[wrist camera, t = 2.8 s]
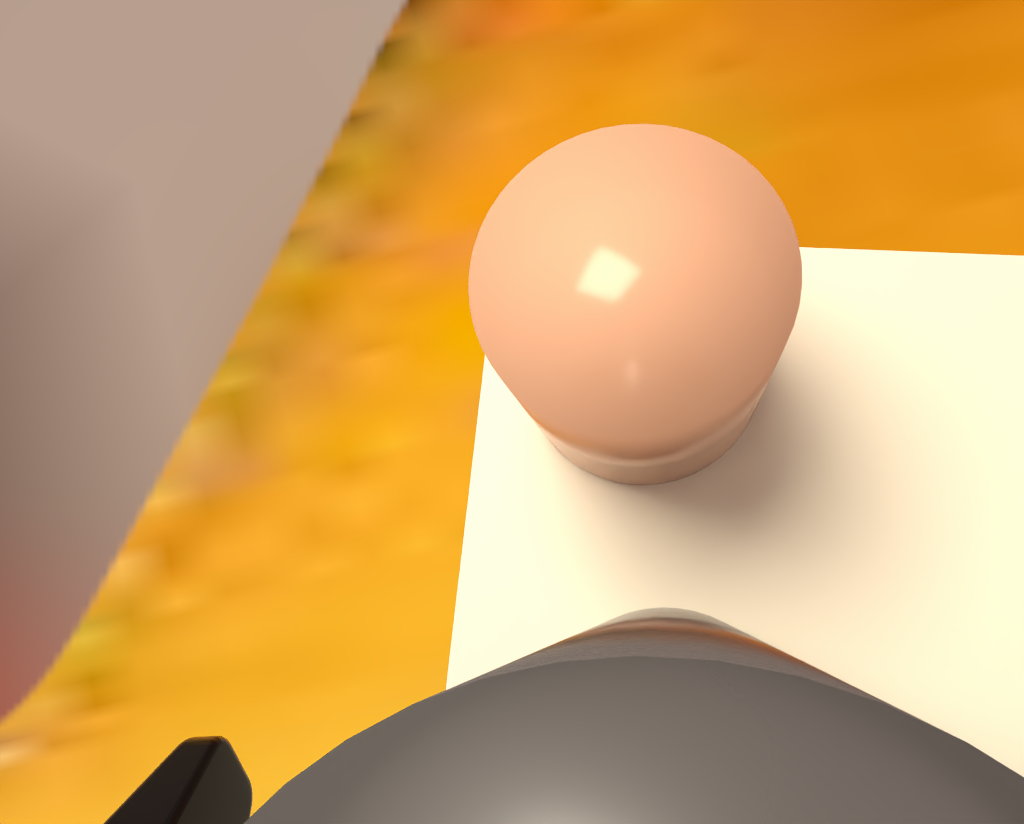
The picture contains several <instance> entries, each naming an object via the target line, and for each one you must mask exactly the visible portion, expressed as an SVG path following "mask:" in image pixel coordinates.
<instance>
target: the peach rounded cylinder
mask: <svg viewBox="0 0 1024 824" xmlns="http://www.w3.org/2000/svg"><path fill="white" fill-rule="evenodd" d="M468 289H469V302H470V311H471V315H472V320H473V324H474V329H475V331H476V334H477V337H478V339H479V342H480V345H481V347H482V349H483V351H484V353H485V355H486V357H487V359H488V361H489V362H490V364H491V366H492V367H493V369H494V370H495V371H496V373H497V374H498V376H499V377H500V378H501V380H502V381H503V382H504V384H505V385H506V386H507V388H508V389H509V390H510V391H511V393H512V394H513V395H514V397H515V398H516V399H517V400H518V402H519V403H520V404H521V406H522V407H523V408H524V409H525V411H526V412H527V413H528V415H529V416H530V417H531V418H532V420H533V421H534V422H535V424H536V425H537V426H538V427H539V429H540V430H541V431H542V433H543V434H544V435H545V436H546V438H547V439H548V440H549V442H550V443H551V444H552V445H553V446H554V447H555V448H556V449H557V450H558V451H559V452H560V453H561V454H562V455H563V456H564V457H565V458H567V459H568V460H569V461H570V462H572V463H573V464H574V465H576V466H578V467H579V468H581V469H583V470H584V471H586V472H588V473H590V474H593V475H595V476H597V477H600V478H603V479H606V480H609V481H613V482H617V483H623V484H630V485H653V484H663V483H667V482H671V481H676V480H679V479H682V478H685V477H687V476H690V475H692V474H695V473H697V472H698V471H700V470H702V469H704V468H706V467H708V466H709V465H711V464H712V463H713V462H715V461H716V460H717V459H719V458H720V457H721V456H723V455H724V454H725V453H726V452H727V451H728V450H729V449H730V448H731V447H732V446H733V445H734V444H735V442H736V441H737V440H738V439H739V437H740V436H741V435H742V434H743V432H744V430H745V429H746V427H747V425H748V424H749V422H750V420H751V418H752V416H753V414H754V412H755V410H756V407H757V405H758V403H759V401H760V399H761V397H762V395H763V393H764V390H765V388H766V386H767V384H768V382H769V380H770V378H771V375H772V373H773V371H774V369H775V367H776V365H777V363H778V361H779V358H780V356H781V354H782V352H783V350H784V348H785V346H786V343H787V341H788V339H789V336H790V334H791V332H792V329H793V327H794V324H795V320H796V316H797V313H798V309H799V305H800V298H801V290H802V261H801V254H800V248H799V242H798V239H797V236H796V233H795V229H794V226H793V223H792V220H791V218H790V216H789V214H788V212H787V210H786V208H785V206H784V204H783V202H782V201H781V199H780V198H779V196H778V195H777V193H776V192H775V190H774V189H773V187H772V186H771V185H770V183H769V182H768V181H767V180H766V179H765V178H764V177H763V176H762V174H761V173H760V172H759V171H758V170H757V169H756V168H755V167H753V166H752V165H751V164H750V163H749V162H748V161H746V160H745V159H744V158H743V157H742V156H740V155H739V154H737V153H736V152H734V151H733V150H731V149H729V148H728V147H726V146H725V145H723V144H721V143H719V142H717V141H715V140H712V139H710V138H708V137H706V136H704V135H701V134H698V133H694V132H691V131H688V130H685V129H680V128H675V127H670V126H665V125H653V124H629V125H618V126H612V127H606V128H601V129H597V130H594V131H591V132H587V133H584V134H581V135H578V136H576V137H574V138H571V139H569V140H566V141H564V142H562V143H560V144H558V145H557V146H555V147H553V148H551V149H549V150H548V151H546V152H544V153H543V154H541V155H540V156H539V157H537V158H536V159H535V160H533V161H532V162H531V163H529V164H528V165H527V166H526V167H525V168H524V169H522V170H521V171H520V172H519V173H518V174H517V175H516V176H515V177H514V178H513V179H512V180H511V181H510V182H509V184H508V185H507V186H506V187H505V188H504V190H503V191H502V192H501V193H500V194H499V196H498V197H497V199H496V201H495V202H494V204H493V205H492V207H491V208H490V210H489V211H488V213H487V216H486V218H485V220H484V222H483V224H482V226H481V228H480V230H479V233H478V236H477V239H476V242H475V245H474V248H473V253H472V259H471V264H470V270H469V288H468Z"/></svg>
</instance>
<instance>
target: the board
mask: <svg viewBox="0 0 1024 824" xmlns="http://www.w3.org/2000/svg"><path fill="white" fill-rule="evenodd" d="M799 248H800V254H801V261H802V290H801V298H800V305H799V309H798V313H797V316H796V320H795V324H794V327H793V329H792V332H791V334H790V336H789V339H788V341H787V343H786V346H785V348H784V350H783V352H782V354H781V356H780V358H779V361H778V363H777V365H776V367H775V369H774V371H773V373H772V375H771V378H770V380H769V382H768V384H767V386H766V388H765V390H764V393H763V395H762V397H761V399H760V401H759V403H758V405H757V407H756V410H755V412H754V414H753V416H752V418H751V420H750V422H749V424H748V425H747V427H746V429H745V430H744V432H743V434H742V435H741V436H740V437H739V439H738V440H737V441H736V442H735V444H734V445H733V446H732V447H731V448H730V449H729V450H728V451H727V452H726V453H725V454H724V455H723V456H721V457H720V458H719V459H717V460H716V461H715V462H713V463H712V464H711V465H709V466H708V467H706V468H704V469H702V470H700V471H698V472H697V473H695V474H692V475H690V476H687V477H685V478H682V479H679V480H676V481H671V482H667V483H663V484H653V485H630V484H623V483H617V482H613V481H609V480H606V479H603V478H600V477H597V476H595V475H593V474H590V473H588V472H586V471H584V470H583V469H581V468H579V467H578V466H576V465H574V464H573V463H572V462H570V461H569V460H568V459H567V458H565V457H564V456H563V455H562V454H561V453H560V452H559V451H558V450H557V449H556V448H555V447H554V446H553V445H552V444H551V443H550V442H549V440H548V439H547V438H546V436H545V435H544V434H543V433H542V431H541V430H540V429H539V427H538V426H537V425H536V424H535V422H534V421H533V420H532V418H531V417H530V416H529V415H528V413H527V412H526V411H525V409H524V408H523V407H522V406H521V404H520V403H519V402H518V400H517V399H516V398H515V397H514V395H513V394H512V393H511V391H510V390H509V389H508V388H507V386H506V385H505V384H504V382H503V381H502V380H501V378H500V377H499V376H498V374H497V373H496V371H495V370H494V369H493V367H492V366H491V364H490V362H489V361H488V359H487V357H486V355H485V361H484V370H483V378H482V387H481V395H480V404H479V412H478V421H477V429H476V438H475V446H474V455H473V463H472V472H471V480H470V489H469V497H468V506H467V514H466V523H465V531H464V540H463V548H462V557H461V565H460V574H459V582H458V591H457V599H456V608H455V616H454V625H453V633H452V642H451V650H450V659H449V667H448V676H447V684H446V690H447V689H450V688H452V687H454V686H457V685H459V684H461V683H464V682H466V681H468V680H471V679H473V678H475V677H478V676H480V675H482V674H485V673H487V672H489V671H492V670H494V669H496V668H499V667H501V666H503V665H506V664H508V663H510V662H513V661H515V660H517V659H520V658H522V657H524V656H527V655H529V654H531V653H534V652H536V651H538V650H541V649H543V648H545V647H548V646H550V645H552V644H555V643H557V642H559V641H562V640H564V639H566V638H569V637H571V636H573V635H576V634H578V633H580V632H583V631H585V630H587V629H590V628H592V627H594V626H597V625H599V624H601V623H604V622H606V621H608V620H611V619H613V618H615V617H618V616H621V615H623V614H626V613H629V612H633V611H637V610H642V609H648V608H660V607H665V608H680V609H686V610H692V611H696V612H699V613H702V614H706V615H709V616H712V617H714V618H716V619H718V620H720V621H722V622H725V623H727V624H729V625H731V626H733V627H735V628H737V629H739V630H741V631H743V632H745V633H747V634H749V635H751V636H753V637H755V638H757V639H759V640H761V641H763V642H765V643H767V644H769V645H771V646H773V647H775V648H777V649H779V650H781V651H783V652H785V653H787V654H789V655H792V656H794V657H796V658H798V659H800V660H802V661H804V662H806V663H808V664H810V665H812V666H814V667H816V668H818V669H820V670H822V671H824V672H826V673H828V674H830V675H832V676H834V677H836V678H838V679H840V680H842V681H844V682H846V683H848V684H850V685H852V686H854V687H856V688H858V689H860V690H862V691H864V692H866V693H868V694H870V695H872V696H874V697H876V698H878V699H881V700H883V701H885V702H887V703H889V704H891V705H893V706H895V707H897V708H899V709H901V710H903V711H905V712H907V713H909V714H911V715H913V716H915V717H917V718H919V719H921V720H923V721H925V722H927V723H929V724H931V725H933V726H935V727H937V728H939V729H941V730H943V731H945V732H947V733H949V734H951V735H953V736H955V737H957V738H959V739H961V740H963V741H965V742H967V743H969V744H971V745H972V746H974V747H976V748H977V749H979V750H981V751H982V752H984V753H985V754H987V755H989V756H990V757H992V758H994V759H995V760H997V761H998V762H1000V763H1002V764H1003V765H1005V766H1006V767H1008V768H1010V769H1011V770H1013V771H1015V772H1016V773H1018V774H1019V775H1021V776H1023V777H1024V256H1013V255H987V254H960V253H934V252H908V251H882V250H856V249H830V248H804V247H799Z"/></svg>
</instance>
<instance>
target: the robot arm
mask: <svg viewBox="0 0 1024 824" xmlns="http://www.w3.org/2000/svg"><path fill="white" fill-rule="evenodd" d="M251 806H252V787H251V783H250V780H249V778H248V776H247V774H246V772H245V770H244V768H243V767H242V765H241V763H240V761H239V759H238V757H237V755H236V753H235V751H234V750H233V748H232V746H231V744H230V742H229V741H228V740H227V739H225V738H224V737H222V736H208V737H193V738H189V739H187V740H185V741H183V742H182V743H181V744H179V745H178V746H177V747H176V748H175V749H174V750H173V752H172V753H171V754H170V755H169V756H168V757H167V758H166V759H165V760H164V761H163V762H162V763H161V764H160V765H159V766H158V767H157V768H156V769H155V770H154V771H153V772H152V774H151V775H150V776H149V777H148V778H147V779H146V780H145V781H144V782H143V783H142V784H141V785H140V786H139V787H138V788H137V789H136V790H135V791H134V792H133V793H132V794H131V795H130V797H129V798H128V799H127V800H126V801H125V802H124V803H123V804H122V805H121V806H120V807H119V808H118V809H117V810H116V811H115V812H114V813H113V814H112V815H111V816H110V817H109V818H108V820H107V821H106V822H105V823H104V824H244V823H245V822H246V821H247V820H248V819H249V818H250V812H251Z"/></svg>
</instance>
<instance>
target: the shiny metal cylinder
mask: <svg viewBox="0 0 1024 824" xmlns="http://www.w3.org/2000/svg"><path fill="white" fill-rule="evenodd" d="M244 824H1024V777H1023V776H1021V775H1019V774H1018V773H1016V772H1015V771H1013V770H1011V769H1010V768H1008V767H1006V766H1005V765H1003V764H1002V763H1000V762H998V761H997V760H995V759H994V758H992V757H990V756H989V755H987V754H985V753H984V752H982V751H981V750H979V749H977V748H976V747H974V746H972V745H971V744H969V743H967V742H965V741H963V740H961V739H959V738H957V737H955V736H953V735H951V734H949V733H947V732H945V731H943V730H941V729H939V728H937V727H935V726H933V725H931V724H929V723H927V722H925V721H923V720H921V719H919V718H917V717H915V716H913V715H911V714H909V713H907V712H905V711H903V710H901V709H899V708H897V707H895V706H893V705H891V704H889V703H887V702H885V701H883V700H881V699H878V698H876V697H874V696H872V695H870V694H868V693H866V692H864V691H862V690H860V689H858V688H856V687H854V686H852V685H850V684H848V683H846V682H844V681H842V680H840V679H838V678H836V677H834V676H832V675H830V674H828V673H826V672H824V671H822V670H820V669H818V668H816V667H814V666H812V665H810V664H808V663H806V662H804V661H802V660H800V659H798V658H796V657H794V656H792V655H789V654H787V653H785V652H783V651H781V650H779V649H777V648H775V647H773V646H771V645H769V644H767V643H765V642H763V641H761V640H759V639H757V638H755V637H753V636H751V635H749V634H747V633H745V632H743V631H741V630H739V629H737V628H735V627H733V626H731V625H729V624H727V623H725V622H722V621H720V620H718V619H716V618H714V617H712V616H709V615H706V614H702V613H699V612H696V611H692V610H686V609H680V608H665V607H660V608H648V609H642V610H637V611H633V612H629V613H626V614H623V615H621V616H618V617H615V618H613V619H611V620H608V621H606V622H604V623H601V624H599V625H597V626H594V627H592V628H590V629H587V630H585V631H583V632H580V633H578V634H576V635H573V636H571V637H569V638H566V639H564V640H562V641H559V642H557V643H555V644H552V645H550V646H548V647H545V648H543V649H541V650H538V651H536V652H534V653H531V654H529V655H527V656H524V657H522V658H520V659H517V660H515V661H513V662H510V663H508V664H506V665H503V666H501V667H499V668H496V669H494V670H492V671H489V672H487V673H485V674H482V675H480V676H478V677H475V678H473V679H471V680H468V681H466V682H464V683H461V684H459V685H457V686H454V687H452V688H450V689H447V690H445V691H443V692H440V693H438V694H436V695H433V696H431V697H429V698H426V699H424V700H422V701H419V702H417V703H415V704H412V705H411V706H409V707H407V708H405V709H403V710H401V711H399V712H397V713H396V714H394V715H392V716H390V717H388V718H386V719H384V720H382V721H381V722H379V723H377V724H375V725H373V726H371V727H369V728H367V729H366V730H364V731H362V732H360V733H358V734H356V735H354V736H353V737H351V738H349V739H347V740H345V741H344V742H343V743H341V744H340V745H339V746H337V747H336V748H334V749H333V750H332V751H330V752H329V753H327V754H326V755H325V756H323V757H322V758H321V759H319V760H318V761H316V762H315V763H314V764H312V765H311V766H309V767H308V768H307V769H305V770H304V771H303V772H301V773H300V774H298V775H297V776H296V777H294V778H293V779H291V780H290V781H289V782H287V783H286V784H285V785H284V786H283V787H282V788H281V789H280V790H278V791H277V792H276V793H275V794H274V795H273V796H272V797H271V798H270V799H269V800H268V801H267V802H266V803H265V804H264V805H263V806H262V807H261V808H259V809H258V810H257V811H256V812H255V813H254V814H253V815H252V816H251V817H250V818H249V819H248V820H247V821H246V822H245V823H244Z"/></svg>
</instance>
